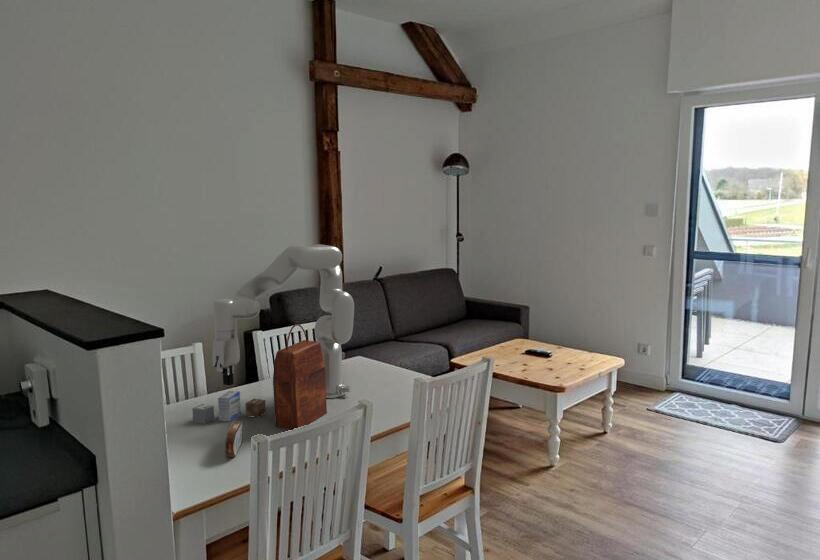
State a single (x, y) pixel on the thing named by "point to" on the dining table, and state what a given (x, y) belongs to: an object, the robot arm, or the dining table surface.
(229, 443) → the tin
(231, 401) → the medicine box
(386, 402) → the dining table surface
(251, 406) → the walnut block
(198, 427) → the dining table surface
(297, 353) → the handbag
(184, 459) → the dining table surface
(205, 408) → the slate-grey block
